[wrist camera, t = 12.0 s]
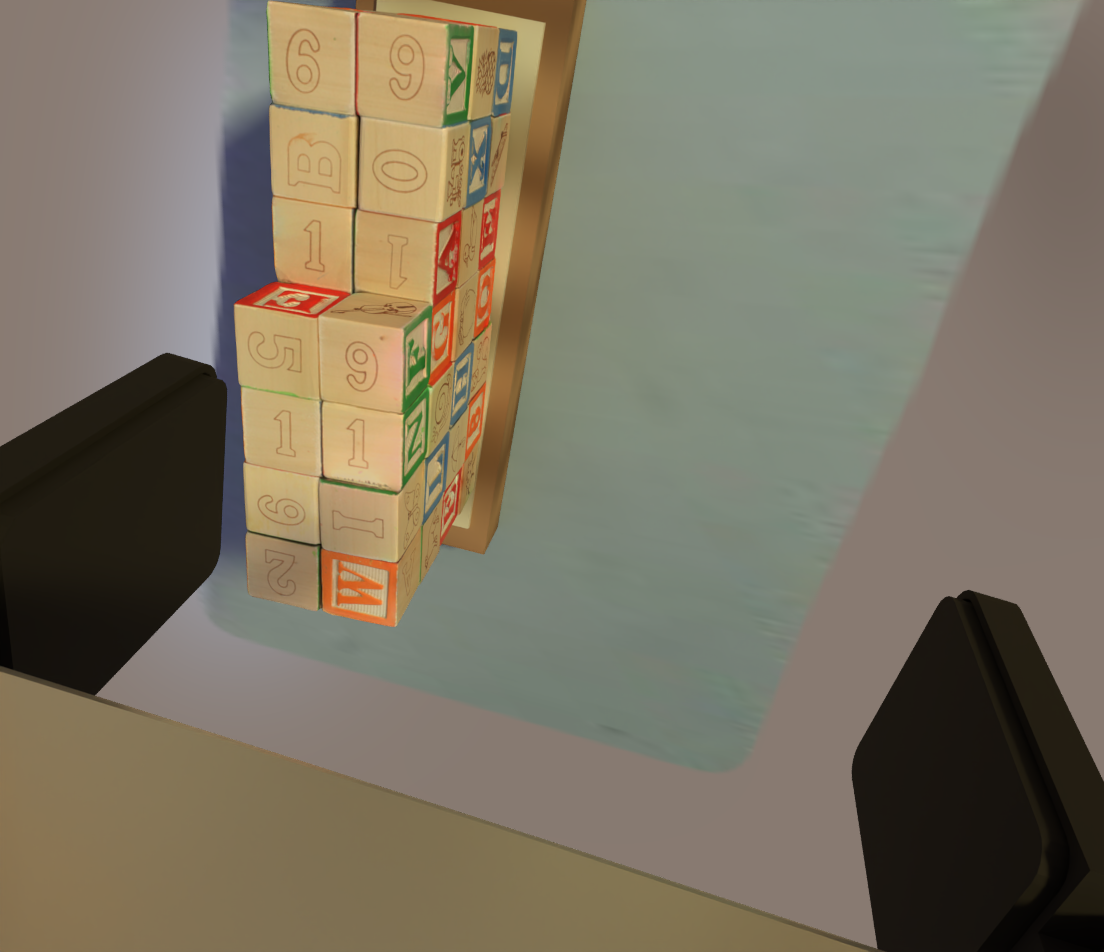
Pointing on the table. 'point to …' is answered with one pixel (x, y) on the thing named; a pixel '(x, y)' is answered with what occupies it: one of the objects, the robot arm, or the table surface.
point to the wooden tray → (513, 217)
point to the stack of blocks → (370, 301)
